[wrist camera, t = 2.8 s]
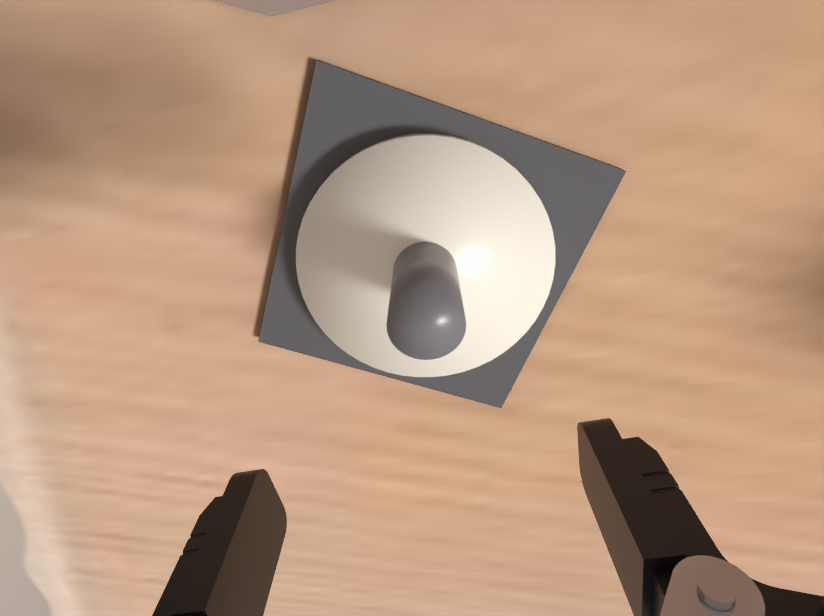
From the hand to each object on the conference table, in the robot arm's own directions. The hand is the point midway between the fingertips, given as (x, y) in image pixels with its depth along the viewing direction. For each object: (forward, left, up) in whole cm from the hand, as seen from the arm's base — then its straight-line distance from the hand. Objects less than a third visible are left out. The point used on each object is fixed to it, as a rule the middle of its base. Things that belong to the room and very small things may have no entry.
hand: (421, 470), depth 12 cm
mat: (0, 0, -15) cm, 15 cm away
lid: (0, 0, -14) cm, 14 cm away
